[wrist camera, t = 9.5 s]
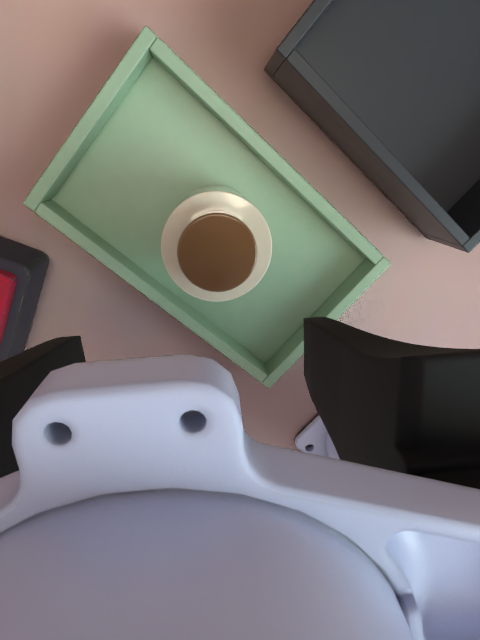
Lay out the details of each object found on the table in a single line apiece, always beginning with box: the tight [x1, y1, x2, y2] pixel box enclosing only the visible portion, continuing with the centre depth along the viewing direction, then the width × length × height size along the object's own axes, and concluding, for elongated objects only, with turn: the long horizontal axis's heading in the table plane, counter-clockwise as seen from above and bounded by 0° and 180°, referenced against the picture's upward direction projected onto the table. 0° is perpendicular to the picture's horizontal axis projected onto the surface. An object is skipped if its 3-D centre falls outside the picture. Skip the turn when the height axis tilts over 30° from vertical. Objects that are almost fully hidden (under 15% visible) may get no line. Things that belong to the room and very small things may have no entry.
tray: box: [23, 26, 391, 388], centre depth 21 cm, size 15×9×2 cm, turn 49°
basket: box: [264, 0, 480, 253], centre depth 18 cm, size 12×12×4 cm
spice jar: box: [161, 184, 272, 302], centre depth 19 cm, size 4×4×6 cm
